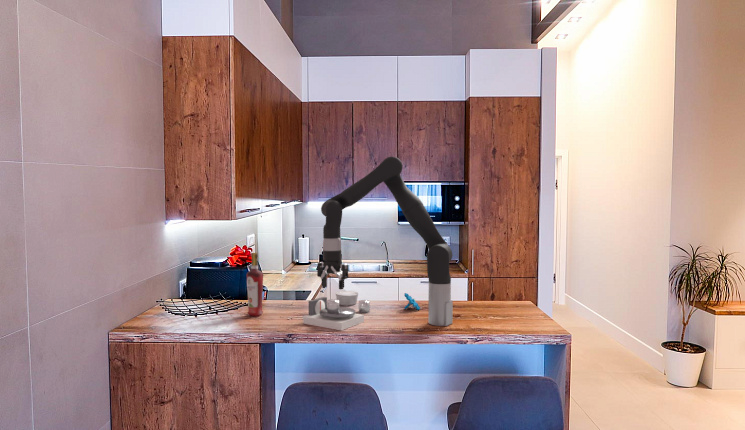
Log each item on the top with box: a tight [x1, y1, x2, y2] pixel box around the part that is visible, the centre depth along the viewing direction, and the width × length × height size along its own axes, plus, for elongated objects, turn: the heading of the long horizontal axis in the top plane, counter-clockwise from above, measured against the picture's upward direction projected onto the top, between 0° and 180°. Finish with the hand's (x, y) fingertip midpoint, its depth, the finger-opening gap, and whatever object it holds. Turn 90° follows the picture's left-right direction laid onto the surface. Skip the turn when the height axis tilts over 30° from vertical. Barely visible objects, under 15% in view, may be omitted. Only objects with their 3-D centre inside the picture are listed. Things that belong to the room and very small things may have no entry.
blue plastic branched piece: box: [404, 292, 421, 311], centre depth 243 cm, size 11×6×10 cm
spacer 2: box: [358, 299, 371, 314], centre depth 238 cm, size 5×5×5 cm
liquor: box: [245, 252, 264, 318], centre depth 231 cm, size 7×7×28 cm
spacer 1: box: [327, 298, 340, 314], centre depth 215 cm, size 5×5×5 cm
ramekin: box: [335, 290, 359, 306], centre depth 255 cm, size 11×11×5 cm
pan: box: [320, 306, 356, 318], centre depth 217 cm, size 15×15×1 cm
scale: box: [302, 296, 365, 331], centre depth 218 cm, size 20×16×9 cm
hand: (332, 288), depth 214 cm, fingers open, 8 cm apart
